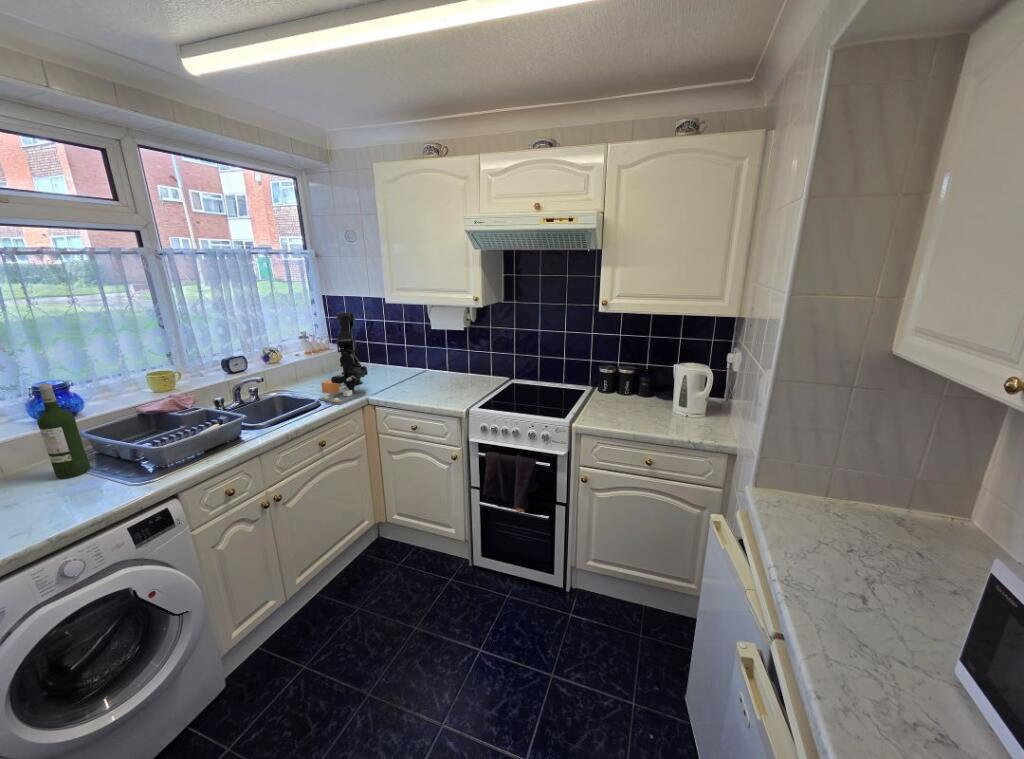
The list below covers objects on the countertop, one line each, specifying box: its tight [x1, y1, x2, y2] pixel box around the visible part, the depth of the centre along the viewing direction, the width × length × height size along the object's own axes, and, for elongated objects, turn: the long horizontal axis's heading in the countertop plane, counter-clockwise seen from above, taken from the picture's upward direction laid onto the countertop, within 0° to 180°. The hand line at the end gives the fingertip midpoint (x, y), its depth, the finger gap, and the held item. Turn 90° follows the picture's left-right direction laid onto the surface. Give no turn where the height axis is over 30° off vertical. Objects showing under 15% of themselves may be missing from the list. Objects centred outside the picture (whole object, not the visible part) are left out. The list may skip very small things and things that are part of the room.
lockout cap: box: [320, 379, 342, 395], centre depth 216 cm, size 6×6×6 cm
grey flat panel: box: [317, 390, 367, 406], centre depth 206 cm, size 17×14×2 cm
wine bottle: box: [36, 383, 91, 480], centre depth 130 cm, size 8×8×30 cm
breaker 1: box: [339, 385, 349, 393], centre depth 210 cm, size 3×3×2 cm
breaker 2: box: [343, 389, 353, 396], centre depth 204 cm, size 3×3×2 cm
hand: (352, 392), depth 206 cm, fingers closed
